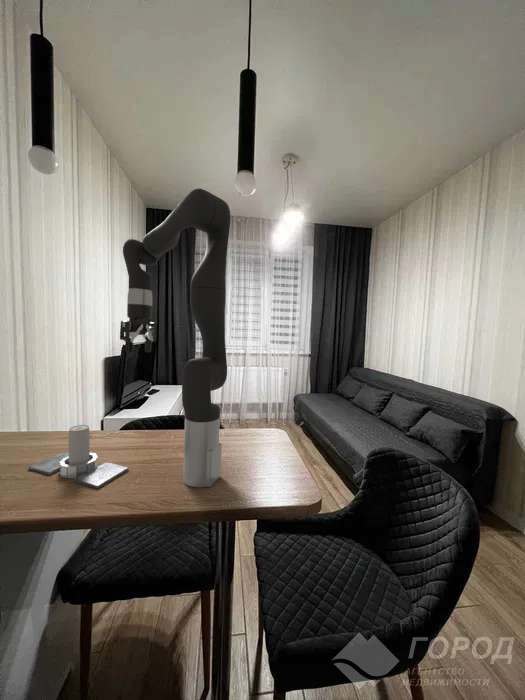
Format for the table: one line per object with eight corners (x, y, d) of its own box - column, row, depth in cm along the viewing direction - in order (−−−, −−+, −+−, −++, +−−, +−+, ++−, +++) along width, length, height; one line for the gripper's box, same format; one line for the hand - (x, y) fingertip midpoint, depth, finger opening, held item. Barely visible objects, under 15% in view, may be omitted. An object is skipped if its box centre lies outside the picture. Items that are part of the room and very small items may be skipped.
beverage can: (64, 471, 77) (64, 428, 76) (83, 464, 81) (83, 423, 80) (75, 476, 74) (75, 432, 74) (93, 468, 79) (93, 427, 78)
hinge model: (128, 470, 79) (128, 459, 78) (97, 488, 69) (97, 477, 69) (64, 454, 86) (64, 444, 86) (28, 469, 77) (28, 458, 76)
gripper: (133, 301, 84) (132, 355, 85) (163, 306, 97) (162, 352, 99) (113, 301, 86) (113, 353, 87) (145, 305, 100) (144, 350, 101)
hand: (139, 352), depth 93 cm, fingers open, 8 cm apart
